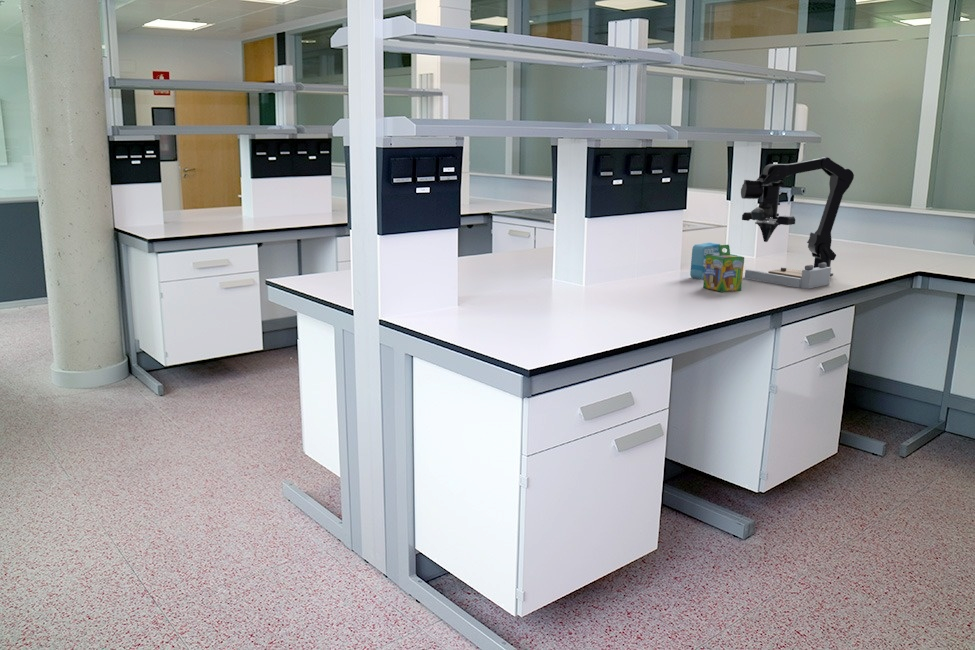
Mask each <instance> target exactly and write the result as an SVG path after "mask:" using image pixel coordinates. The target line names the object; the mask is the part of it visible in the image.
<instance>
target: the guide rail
mask: <svg viewBox="0 0 975 650" xmlns="http://www.w3.org/2000/svg"><path fill="white" fill-rule="evenodd" d="M744 271H745V272H744V279H748V280H753V281H757V282H765V283H770V284H775V285H781V286H786V287H794V288H797V289H798V288H801V287H800V285H801V278H796V277H790V276H784V275H778V274H772V273H768V272H764V271H758V270H752V269H745V270H744Z"/></svg>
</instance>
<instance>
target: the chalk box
mask: <svg viewBox="0 0 975 650" xmlns="http://www.w3.org/2000/svg"><path fill="white" fill-rule="evenodd" d="M723 249H726V252H724V251H723ZM744 265H745V256H741V255H737V254H732V253H731V249H730V244H720V245H719V253H716V254H706V263H705V274H704V279H703V285H702V286H703V287H702V288H703V289H707V290H713V291H717V292H720V293H725V292H740V291H742V285H743V284H742V283H743V274H744V267H745V266H744Z"/></svg>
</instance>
